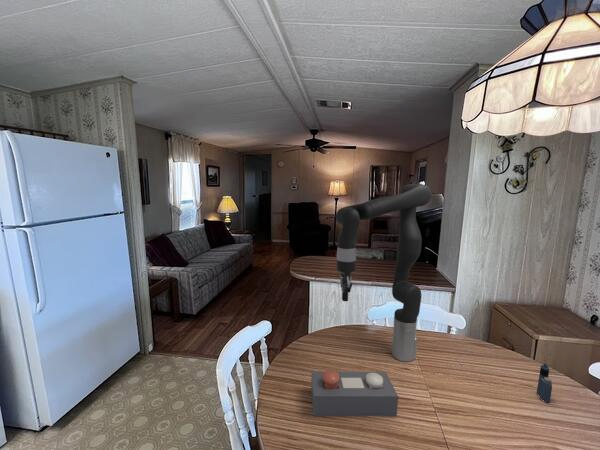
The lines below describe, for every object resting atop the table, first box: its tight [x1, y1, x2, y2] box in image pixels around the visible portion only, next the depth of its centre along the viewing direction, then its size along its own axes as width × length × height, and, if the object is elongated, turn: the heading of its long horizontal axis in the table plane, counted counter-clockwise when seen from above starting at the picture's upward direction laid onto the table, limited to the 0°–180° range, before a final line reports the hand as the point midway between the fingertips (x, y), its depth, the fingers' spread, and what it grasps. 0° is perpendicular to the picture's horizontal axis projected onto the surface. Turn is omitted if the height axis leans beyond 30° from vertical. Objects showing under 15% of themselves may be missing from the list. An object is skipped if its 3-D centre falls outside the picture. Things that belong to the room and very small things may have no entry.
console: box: [310, 371, 399, 417], centre depth 95 cm, size 27×12×7 cm, turn 92°
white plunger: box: [366, 373, 383, 389], centre depth 95 cm, size 6×6×8 cm
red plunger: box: [322, 369, 339, 388], centre depth 95 cm, size 6×6×8 cm
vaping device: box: [536, 363, 553, 403], centre depth 99 cm, size 3×5×12 cm, turn 161°
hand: (344, 300), depth 112 cm, fingers closed
